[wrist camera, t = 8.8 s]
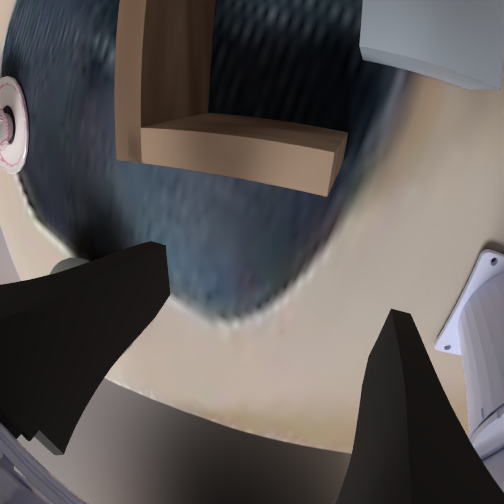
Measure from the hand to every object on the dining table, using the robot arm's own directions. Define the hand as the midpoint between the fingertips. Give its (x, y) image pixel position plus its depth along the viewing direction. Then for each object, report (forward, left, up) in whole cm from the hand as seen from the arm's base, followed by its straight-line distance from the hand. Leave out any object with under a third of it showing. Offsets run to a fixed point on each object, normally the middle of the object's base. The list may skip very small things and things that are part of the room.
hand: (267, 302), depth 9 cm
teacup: (+34, -4, -10) cm, 36 cm away
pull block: (-7, -11, -9) cm, 16 cm away
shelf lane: (+4, -11, -9) cm, 15 cm away
